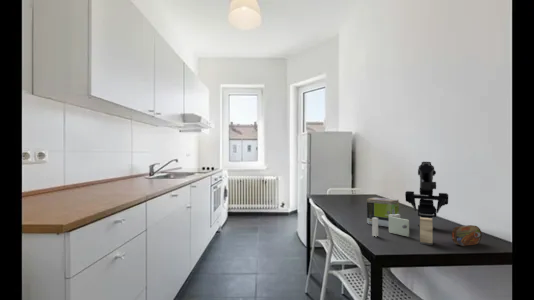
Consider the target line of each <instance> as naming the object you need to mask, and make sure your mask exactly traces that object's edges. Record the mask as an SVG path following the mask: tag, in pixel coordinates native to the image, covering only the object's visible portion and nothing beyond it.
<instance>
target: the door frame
mask: <svg viewBox="0 0 534 300" xmlns="http://www.w3.org/2000/svg"><path fill="white" fill-rule="evenodd" d="M389 217H396V218H401V214H400V213H399V214H395V215H393V214H389ZM371 228H372V229H371V237H374V236H375V238H378V237H379V225H378V218H375V217H374V218H372V224H371ZM377 236H378V237H377Z"/></svg>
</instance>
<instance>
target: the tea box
mask: <svg viewBox="0 0 534 300" xmlns="http://www.w3.org/2000/svg"><path fill="white" fill-rule="evenodd" d="M399 203H400V202H399V199H396V198H395V199H394V198H383V197H369V198H367V199H366V223H368V224H369V225H372V218H374V217H375V218H378V227H379V226H380V227H387V228H389V214H393V215H395V214H400V205H399ZM368 224H367V225H368Z"/></svg>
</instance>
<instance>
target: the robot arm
mask: <svg viewBox="0 0 534 300" xmlns="http://www.w3.org/2000/svg"><path fill="white" fill-rule="evenodd" d="M436 173H437V171H436V170H435V166H434V165H432V161H431V162H430V161H421V164H420V165H419V166H418V169H417V175H418V176H419V194H418V193H417V194H416V193H415V191H412V190H411V191H409V190H406V191H405V194H404V195H405V202H406V203H407V202H408V204H411V206H412V207H413V209H414V212H417V216H418V217H423V218H432V219H433V218H436V217H437V214H438V213H439V211H440V209H441V208H442V207H443V206H446V205H449V194H448V193H446V192H438V195H433V194H434V190H436V189H437V182H436V181H433V180H434V177H435V175H436ZM416 199H419V202H418V205H417V204H416ZM434 201H437V204H436V205H437V206H435V205H434ZM416 205H417V206H416ZM417 226H418V227H420V224H418V225H417ZM432 229H436V227H435V226H433V225H432Z"/></svg>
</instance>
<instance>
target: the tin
mask: <svg viewBox="0 0 534 300" xmlns="http://www.w3.org/2000/svg"><path fill="white" fill-rule="evenodd" d="M451 240H452V241H453V243H454V244H455V245H457V246H462V247H467V246H474V245H478V244H479V243H480V242H481V240H482V230H481V228H480V227H479V226H477V225H472V224H470V225H469V224H468V225H459V226H455V227H454V228H453V229H452V230H451Z"/></svg>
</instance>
